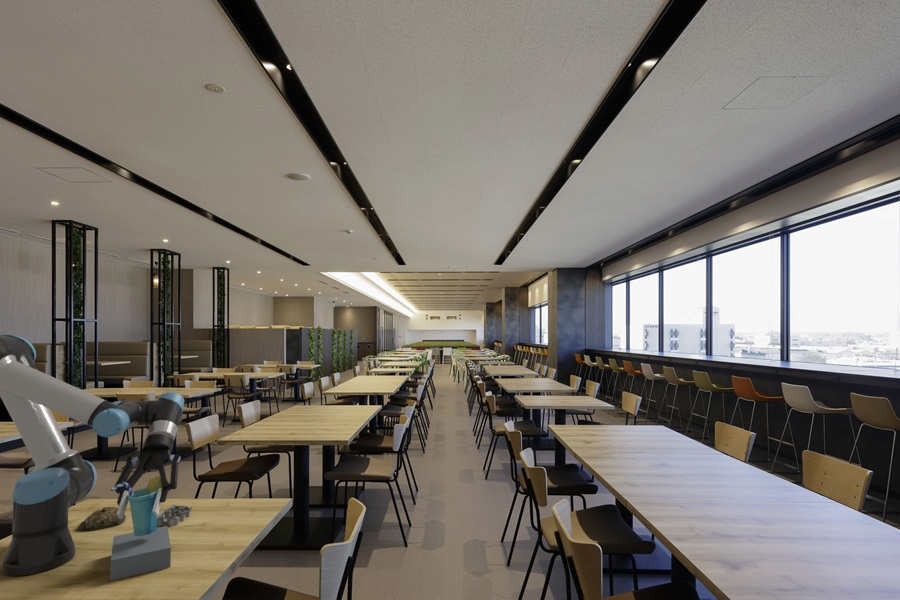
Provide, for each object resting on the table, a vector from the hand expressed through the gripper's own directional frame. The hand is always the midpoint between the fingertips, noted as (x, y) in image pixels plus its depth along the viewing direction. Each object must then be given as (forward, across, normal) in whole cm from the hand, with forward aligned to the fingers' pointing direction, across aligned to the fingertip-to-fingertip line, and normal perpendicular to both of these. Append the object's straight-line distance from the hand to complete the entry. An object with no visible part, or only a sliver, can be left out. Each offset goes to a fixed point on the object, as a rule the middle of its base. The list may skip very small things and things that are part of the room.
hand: (137, 515), depth 132 cm
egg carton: (-13, +1, -33) cm, 35 cm away
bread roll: (-16, +23, -35) cm, 45 cm away
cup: (+2, 0, -7) cm, 7 cm away
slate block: (+7, 0, -12) cm, 14 cm away
